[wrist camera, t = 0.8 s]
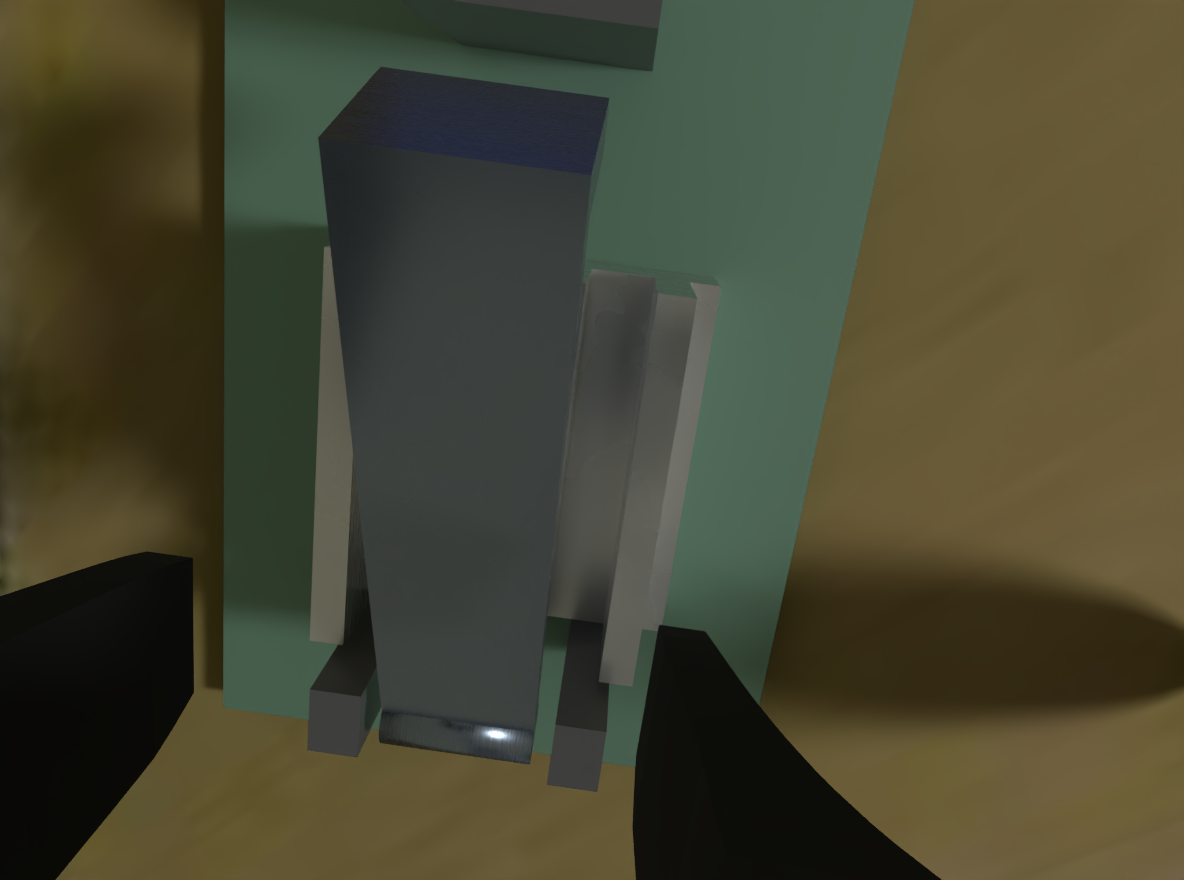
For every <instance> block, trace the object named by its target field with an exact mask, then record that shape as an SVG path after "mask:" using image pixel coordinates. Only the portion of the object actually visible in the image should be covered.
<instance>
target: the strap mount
mask: <svg viewBox="0 0 1184 880" xmlns="http://www.w3.org/2000/svg"><path fill="white" fill-rule="evenodd" d="M400 1H401V2H402V3H404V4H405V5H407V6H408V7H409V8H411V9H412V10H414V11H415V12H416V13H418V14H419V15H421V16H422V17H423V18H425V19H426V20H427V21H429V22H430V23H432V24H433V25H434V26H436V27H437V28H439V29H440V30H441V31H443V32H444V33H446V34H447V35H448V36H450V37H451V38H452V39H454V40H455V41H457V42H458V43H459V44H461V45H464V46H471V47H478V48H486V49H493V50H500V51H508V52H515V53H522V54H530V55H537V56H544V57H552V58H559V59H566V60H574V61H581V62H588V63H596V64H603V65H610V66H618V67H625V68H632V69H640V70H647V71H653V64H654V57H655V50H656V43H657V36H658V29H659V22H660V15H661V8H662V1H663V0H400ZM602 631H603V623H596V622H589V621H582V620H575V619H571V623H570V630H569V636H568V643H567V650H566V657H565V663H564V670H563V677H562V683H561V690H560V697H559V703H558V710H557V717H556V724H555V731H554V738H553V745H552V752H551V759H550V767H549V774H548V781H547V785H553V786H560V787H567V788H573V789H580V790H587V791H594V792H597V789H598V783H599V777H600V771H601V764H602V758H603V752H604V746H605V739H606V733H607V717H608V699H609V683H603V682H599V670H600V657H601V644H602ZM380 709H381V700H380V691H379V682H378V673H377V664H376V655H375V646H374V637H373V628H372V619H371V610H370V603H369V605H368V606H367V608H366V610H365V611H364V613H363V614H362V616H361V618H360V619H359V621H358V623H357V624H356V626H355V627H354V629H353V631H352V632H351V634H350V635H349V637H348V639H347V640H346V642H345V643H344V645H338V646H337V647H336V649H335V650H334V652H333V654H332V655H331V657H330V658H329V660H328V661H327V663H326V665H325V666H324V668H323V669H322V671H321V672H320V674H319V676H318V677H317V679H316V680H315V682H314V683H313V685H312V687H311V688H310V695H309V722H308V749H307V750H310V751H317V752H324V753H331V754H338V755H345V756H352V757H358V755H359V753H360V750H361V748H362V746H363V744H364V742H365V740H366V738H367V736H368V734H369V732H370V730H371V728H372V725H373V723H374V721H375V719H376V717H377V715H378V713H379V711H380Z"/></svg>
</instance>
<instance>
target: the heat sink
mask: <svg viewBox="0 0 1184 880" xmlns="http://www.w3.org/2000/svg"><path fill="white" fill-rule="evenodd" d="M720 291H721V285H720V284H719V283H718V281H717V280H716V279H715V277H708V276H700V275H693V274H686V273H679V272H672V271H664V270H657V269H650V268H643V267H636V266H628V265H621V264H614V263H607V262H599V261H592V260H585V267H584V276H583V285H582V295H581V304H580V314H579V323H578V333H577V342H576V351H575V361H574V370H573V380H572V389H571V399H570V408H569V417H568V427H567V436H566V446H565V455H564V464H563V474H562V483H561V493H560V502H559V512H558V521H557V530H556V540H555V549H554V559H553V568H552V578H551V587H550V596H549V606H548V615H547V616H554V617H561V618H568V619H575V620H582V621H589V622H596V623H603V631H602V644H601V657H600V670H599V682H603V683H610V684H617V685H624V686H631V687H632V686H633V680H634V674H635V668H636V662H637V656H638V650H639V644H640V638H641V632H642V629H645V630H652V631H658V627H659V625H662V622H663V617H664V611H665V605H666V600H667V594H668V588H669V582H670V577H671V571H672V565H673V560H674V554H675V548H676V542H677V537H678V531H679V525H680V520H681V514H682V508H683V503H684V497H685V491H686V485H687V480H688V474H689V468H690V463H691V457H692V451H693V446H694V440H695V434H696V428H697V423H698V417H699V411H700V406H701V400H702V394H703V388H704V383H705V377H706V371H707V366H708V360H709V354H710V349H711V343H712V337H713V331H714V326H715V320H716V314H717V309H718V303H719V297H720ZM369 603H370V601H369V592H368V583H367V574H366V565H365V556H364V547H363V538H362V528H361V519H360V510H359V501H358V492H357V483H356V474H355V465H354V456H353V447H352V438H351V429H350V420H349V411H348V402H347V393H346V384H345V375H344V366H343V357H342V348H341V339H340V330H339V321H338V312H337V303H336V294H335V285H334V276H333V267H332V258H331V249H330V246H326V247H324V263H323V290H322V318H321V345H320V373H319V400H318V427H317V455H316V482H315V509H314V537H313V564H312V591H311V619H310V641H317V642H324V643H331V644H338V645H344V643H345V642H346V640H347V639H348V637H349V635H350V634H351V632H352V631H353V629H354V627H355V626H356V624H357V623H358V621H359V619H360V618H361V616H362V614H363V613H364V611H365V610H366V608H367V606H368V605H369Z"/></svg>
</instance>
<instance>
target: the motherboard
mask: <svg viewBox="0 0 1184 880" xmlns="http://www.w3.org/2000/svg"><path fill="white" fill-rule="evenodd" d="M914 1H915V0H663V1H662V8H661V15H660V22H659V29H658V36H657V43H656V50H655V57H654V64H653V71H647V70H640V69H632V68H625V67H618V66H610V65H603V64H596V63H588V62H581V61H574V60H566V59H559V58H552V57H544V56H537V55H530V54H522V53H515V52H508V51H500V50H493V49H486V48H478V47H471V46H464V45H461V44H459V43H458V42H457V41H455V40H454V39H452V38H451V37H450V36H448V35H447V34H446V33H444V32H443V31H441V30H440V29H439V28H437V27H436V26H434V25H433V24H432V23H430V22H429V21H427V20H426V19H425V18H423V17H422V16H421V15H419V14H418V13H416V12H415V11H414V10H412V9H411V8H409V7H408V6H407V5H405V4H404V3H402V2H401V1H400V0H225V160H224V597H223V707H224V708H231V709H238V710H245V711H251V712H258V713H265V714H272V715H279V716H286V717H293V718H300V719H307V720H309V695H310V688H311V687H312V685H313V683H314V682H315V680H316V679H317V677H318V676H319V674H320V672H321V671H322V669H323V668H324V666H325V665H326V663H327V661H328V660H329V658H330V657H331V655H332V654H333V652H334V650H335V649H336V647H337V646H338V644H331V643H324V642H317V641H310V619H311V591H312V564H313V537H314V509H315V482H316V455H317V427H318V400H319V373H320V345H321V318H322V290H323V263H324V247H326V246H330V240H329V231H328V222H327V213H326V204H325V195H324V186H323V177H322V168H321V159H320V150H319V141H318V137H319V136H320V135H321V134H322V133H323V131H324V130H325V129H326V128H327V127H328V126H329V125H330V123H331V122H332V121H333V120H334V119H335V118H336V117H337V116H338V114H339V113H340V112H341V111H342V110H343V109H344V108H345V106H346V105H347V104H348V103H349V102H350V101H351V100H352V99H353V97H354V96H355V95H356V94H357V93H358V92H359V91H360V89H361V88H362V87H363V86H364V85H365V84H366V83H367V81H368V80H369V79H370V78H371V77H372V76H373V75H374V74H375V72H376V71H377V70H378V69H379V68H380V67H387V68H394V69H402V70H409V71H416V72H424V73H431V74H438V75H446V76H453V77H460V78H467V79H475V80H482V81H489V82H497V83H504V84H511V85H519V86H526V87H533V88H541V89H548V90H555V91H562V92H570V93H577V94H584V95H592V96H599V97H606V98H610V99H609V108H608V117H607V126H606V135H605V144H604V153H603V160H602V164H601V169H600V173H599V178H598V182H597V187H596V191H595V196H594V201H593V205H592V210H591V214H590V219H589V229H588V238H587V248H586V257H585V260H592V261H599V262H607V263H614V264H621V265H628V266H636V267H643V268H650V269H657V270H664V271H672V272H679V273H686V274H693V275H700V276H708V277H715V279H716V280H717V281H718V283H719V284H720V285H721V291H720V297H719V303H718V309H717V314H716V320H715V326H714V331H713V337H712V343H711V349H710V354H709V360H708V366H707V371H706V377H705V383H704V388H703V394H702V400H701V406H700V411H699V417H698V423H697V428H696V434H695V440H694V446H693V451H692V457H691V463H690V468H689V474H688V480H687V485H686V491H685V497H684V503H683V508H682V514H681V520H680V525H679V531H678V537H677V542H676V548H675V554H674V560H673V565H672V571H671V577H670V582H669V588H668V594H667V600H666V605H665V611H664V617H663V622H662V625H665V626H672V627H679V628H686V629H693V630H700V631H705V632H706V633H707V634H708V636H709V637H710V638H711V640H712V641H713V643H714V644H715V645H716V647H717V648H718V650H719V651H720V652H721V654H722V655H723V657H724V658H725V660H726V661H727V662H728V664H729V665H730V667H731V668H732V669H733V671H734V672H735V674H736V675H737V676H738V678H739V679H740V681H741V682H742V683H743V685H744V686H745V688H746V689H747V690H748V692H749V693H750V694H751V696H752V697H753V698H754V700H755V701H756V702H757V703H758V705H759V703H760V699H761V694H762V690H763V685H764V681H765V676H766V672H767V667H768V663H769V658H770V654H771V649H772V644H773V640H774V635H775V631H776V626H777V622H778V617H779V613H780V608H781V604H782V599H783V595H784V590H785V586H786V581H787V576H788V572H789V567H790V563H791V558H792V554H793V549H794V545H795V540H796V536H797V531H798V527H799V522H800V518H801V513H802V508H803V504H804V499H805V495H806V490H807V486H808V481H809V477H810V472H811V468H812V463H813V459H814V454H815V450H816V445H817V440H818V436H819V431H820V427H821V422H822V418H823V413H824V409H825V404H826V400H827V395H828V391H829V386H830V382H831V377H832V372H833V368H834V363H835V359H836V354H837V350H838V345H839V341H840V336H841V332H842V327H843V323H844V318H845V313H846V309H847V304H848V300H849V295H850V291H851V286H852V282H853V277H854V273H855V268H856V264H857V259H858V255H859V250H860V245H861V241H862V236H863V232H864V227H865V223H866V218H867V214H868V209H869V205H870V200H871V196H872V191H873V187H874V182H875V177H876V173H877V168H878V164H879V159H880V155H881V150H882V146H883V141H884V137H885V132H886V128H887V123H888V119H889V114H890V109H891V105H892V100H893V96H894V91H895V87H896V82H897V78H898V73H899V69H900V64H901V60H902V55H903V51H904V46H905V41H906V37H907V32H908V28H909V23H910V19H911V14H912V10H913V5H914ZM570 623H571V619H568V618H561V617H554V616H547V625H546V634H545V644H544V653H543V662H542V672H541V681H540V691H539V700H538V702H539V707H538V715H537V723H536V730H535V736H534V743H533V749H532V752H536V753H543V754H550V755H551V752H552V745H553V738H554V731H555V724H556V717H557V710H558V703H559V697H560V690H561V683H562V677H563V670H564V663H565V657H566V650H567V643H568V636H569V630H570ZM657 633H658V631H652V630H645V629H642V632H641V638H640V644H639V650H638V656H637V662H636V668H635V674H634V680H633V686H632V687H631V686H624V685H617V684H610V683H609V699H608V717H607V733H606V739H605V746H604V752H603V758H602V762H605V763H612V764H619V765H626V766H633V767H635V766H636V753H637V747H638V742H639V736H640V730H641V724H642V719H643V713H644V707H645V701H646V696H647V690H648V684H649V678H650V673H651V667H652V661H653V656H654V650H655V644H656V638H657ZM381 713H382V709H380V711H379V713H378V715H377V717H376V719H375V721H374V723H373V725H372V728H371V729H376V730H379V725H380V718H381Z"/></svg>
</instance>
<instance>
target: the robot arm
mask: <svg viewBox="0 0 1184 880" xmlns="http://www.w3.org/2000/svg"><path fill="white" fill-rule="evenodd" d="M193 693H194V658H193V558H189V557H182V556H175V555H167V554H160V553H153V552H143V553H138V554H133V555H129V556H125V557H121V558H117V559H114V560H110V561H107V562H104V563H100V564H97V565H94V566H91V567H88V568H85V569H82V570H78V571H75V572H72V573H69V574H66V575H63V576H60V577H57V578H54V579H51V580H48V581H45V582H42V583H39V584H36V585H33V586H30V587H27V588H24V589H21V590H18V591H15V592H12V593H9V594H6V595H3V596H0V880H56V878H57V877H58V876H59V875H60V874H61V872H62V871H63V870H64V869H65V867H66V866H67V865H68V864H69V863H70V861H71V860H72V859H73V858H74V856H75V855H76V854H77V853H78V852H79V850H80V849H81V848H82V847H83V845H84V844H85V843H86V842H87V841H88V839H89V838H90V837H91V836H92V834H93V833H94V832H95V831H96V830H97V828H98V827H99V826H100V825H101V824H102V822H103V821H104V820H105V819H106V817H107V816H108V815H109V814H110V813H111V811H112V810H113V809H114V808H115V806H116V805H117V804H118V803H119V801H120V800H121V799H122V798H123V796H124V795H125V794H126V793H127V791H128V790H129V789H130V788H131V786H132V785H133V784H134V783H135V782H136V780H137V779H138V778H139V777H140V775H141V774H142V773H143V771H144V770H145V769H146V768H147V766H148V765H149V764H150V762H151V761H152V760H153V759H154V757H155V756H156V754H157V753H158V751H159V749H160V748H161V746H162V745H163V743H164V742H165V740H166V738H167V737H168V735H169V734H170V732H171V730H172V729H173V727H174V726H175V724H176V722H177V720H178V719H179V717H180V715H181V714H182V712H183V710H184V708H185V707H186V705H187V703H188V702H189V700H190V698H191V696H192V695H193ZM633 841H634V856H635V870H636V880H941V879H940V878H939V877H937V876H936V875H935V874H934V873H932V872H931V871H930V870H928V869H927V868H926V867H924V866H923V865H922V864H921V863H919V862H918V861H917V860H915V859H914V858H913V857H912V856H910V855H909V854H908V853H906V852H905V851H904V850H903V849H901V848H900V847H899V846H897V845H896V844H895V843H894V842H893V841H891V840H890V839H889V838H888V837H887V836H885V835H884V834H883V833H882V832H881V831H879V830H878V829H877V828H876V827H875V826H874V825H872V824H871V823H870V822H869V821H868V820H867V819H866V818H865V817H864V816H862V815H861V814H860V813H859V812H858V811H857V810H856V809H855V808H854V807H853V806H852V805H851V804H849V803H848V802H847V801H846V800H845V799H844V798H843V797H842V796H841V795H840V794H839V793H838V792H836V791H835V790H834V789H833V788H832V787H831V786H830V785H829V784H828V783H827V782H826V781H825V780H824V779H823V778H822V777H821V776H820V775H819V774H818V773H817V772H816V771H815V770H814V768H813V767H812V766H811V765H810V764H809V763H808V762H807V761H806V760H805V759H804V758H803V756H802V755H801V754H800V753H799V752H798V751H797V750H796V749H795V748H794V747H793V745H792V744H791V743H790V742H789V741H788V740H787V739H786V738H785V736H784V735H783V734H782V733H781V732H780V731H779V729H778V728H777V727H776V726H775V725H774V723H773V722H772V721H771V720H770V719H769V717H768V716H767V715H766V714H765V712H764V711H763V710H762V709H761V707H760V706H759V705H758V703H757V702H756V701H755V700H754V698H753V697H752V696H751V694H750V693H749V692H748V690H747V689H746V688H745V686H744V685H743V683H742V682H741V681H740V679H739V678H738V676H737V675H736V674H735V672H734V671H733V669H732V668H731V667H730V665H729V664H728V662H727V661H726V660H725V658H724V657H723V655H722V654H721V652H720V651H719V650H718V648H717V647H716V645H715V644H714V643H713V641H712V640H711V638H710V637H709V636H708V634H707V633H706V632H705V631H700V630H693V629H686V628H679V627H672V626H665V625H659V627H658V633H657V638H656V644H655V650H654V656H653V661H652V667H651V673H650V678H649V684H648V690H647V696H646V701H645V707H644V713H643V719H642V724H641V730H640V736H639V742H638V747H637V753H636V766H635V785H634V806H633Z"/></svg>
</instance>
